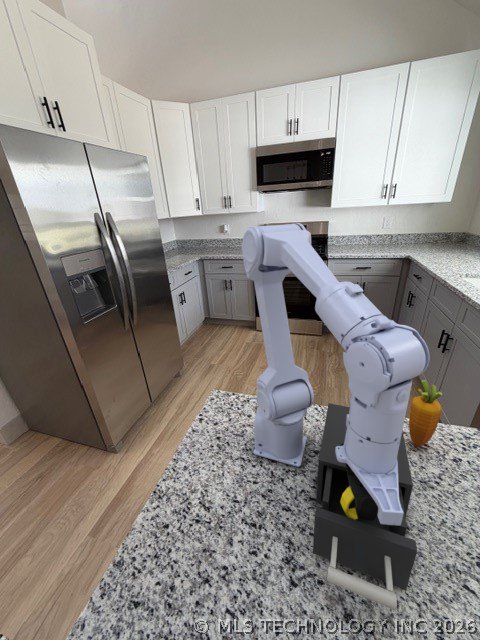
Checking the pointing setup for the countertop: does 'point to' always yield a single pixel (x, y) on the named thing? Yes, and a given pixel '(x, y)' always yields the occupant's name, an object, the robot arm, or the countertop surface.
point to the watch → (345, 502)
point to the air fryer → (336, 437)
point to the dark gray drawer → (361, 545)
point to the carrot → (424, 415)
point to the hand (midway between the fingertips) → (361, 504)
